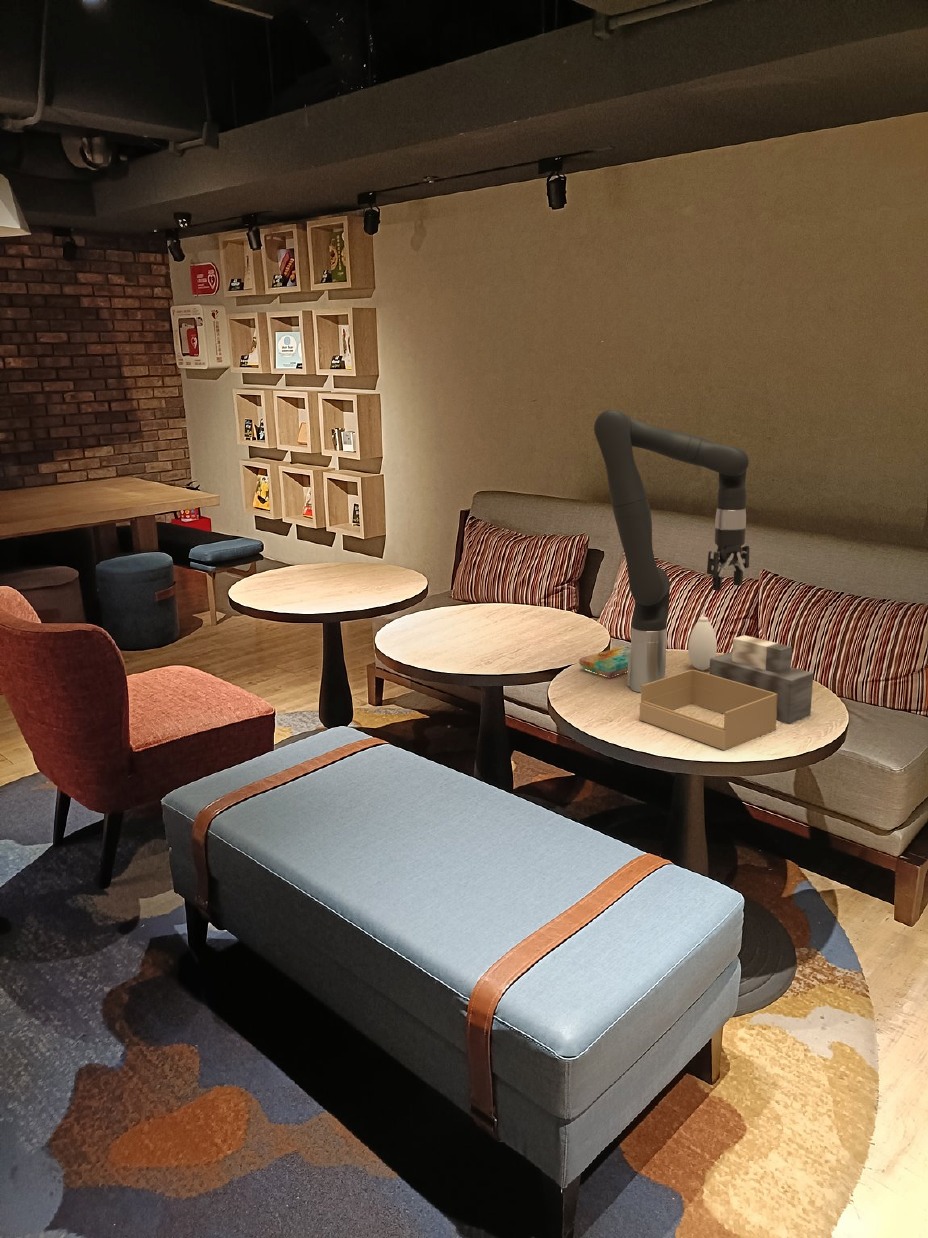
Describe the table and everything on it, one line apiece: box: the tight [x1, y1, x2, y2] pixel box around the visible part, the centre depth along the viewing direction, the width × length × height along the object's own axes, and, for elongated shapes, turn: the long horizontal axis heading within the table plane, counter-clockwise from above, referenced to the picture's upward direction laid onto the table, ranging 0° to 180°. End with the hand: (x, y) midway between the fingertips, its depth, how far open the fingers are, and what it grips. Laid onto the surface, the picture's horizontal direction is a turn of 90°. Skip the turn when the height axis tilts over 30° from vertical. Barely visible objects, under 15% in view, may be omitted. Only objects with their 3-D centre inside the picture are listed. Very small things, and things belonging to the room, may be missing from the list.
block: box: [731, 635, 793, 674], centre depth 231 cm, size 14×4×6 cm, turn 37°
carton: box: [639, 669, 778, 751], centre depth 222 cm, size 25×20×9 cm
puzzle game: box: [578, 645, 631, 678], centre depth 268 cm, size 12×5×20 cm
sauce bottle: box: [687, 608, 718, 671], centre depth 263 cm, size 8×8×18 cm
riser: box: [708, 651, 814, 725], centre depth 233 cm, size 24×9×11 cm, turn 37°
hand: (727, 587), depth 240 cm, fingers open, 8 cm apart
